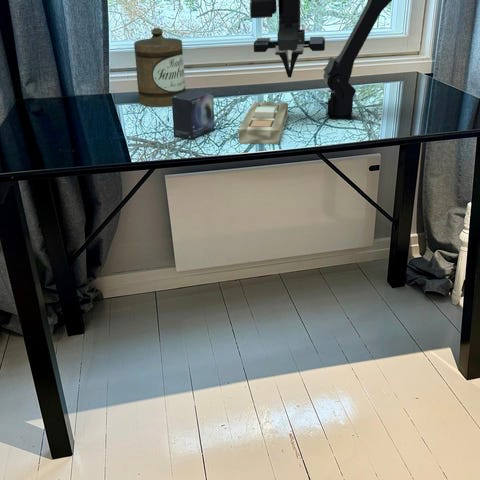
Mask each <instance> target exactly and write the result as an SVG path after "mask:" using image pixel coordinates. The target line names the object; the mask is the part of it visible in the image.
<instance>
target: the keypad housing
mask: <svg viewBox="0 0 480 480" xmlns="http://www.w3.org/2000/svg"><path fill="white" fill-rule="evenodd" d="M260 105H276V106H278V111H275V119H273V118H254V112H255V110H256V108H257V107H260ZM288 113H289V103H288V102H264V101H263V102H261V101H259V102H258V101H257V102H255V101H254V102H253V103H252V104H251V105H250V108H249V110H248V112H247V113H246V115H245V116H244V119H243V120H242V122H241V124H240V126H239V127H238V143H239V144H263V145H265V144H266V145H272V144H273V145H279V144H280V141H281V139H282V138H281V137H282V134H283V132H284V128H285V126H286V121H287V118H288V115H289V114H288ZM253 120H260V121H272V127H252V126H251V124H252V122H253Z"/></svg>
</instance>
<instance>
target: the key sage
mask: <svg viewBox="0 0 480 480" xmlns="http://www.w3.org/2000/svg"><path fill="white" fill-rule="evenodd" d="M260 107H275V111H278V106H276V105H260Z"/></svg>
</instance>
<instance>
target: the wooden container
mask: <svg viewBox="0 0 480 480" xmlns="http://www.w3.org/2000/svg"><path fill="white" fill-rule="evenodd" d="M150 34H151V35H152V36H151V38H143V39H140V40H139V39H138V40H136V41H134V43H133V45H134V46H133V47H134V54H135V55H134V57H135V67H136V83H137V90H138V101H139V102H138V103H139V104H140V105H143V106H146V107H152V108H153V107H155V108H163V107H172V98H171V97H172V96H175V95H178V94H181V93H184V92H187V90H186V77H185V75H186V74H185V65H184V64H185V63H184V54H183V53H184V51H183V41H182V39H179V38H174V37H173V38H171V37H165V36H164V35H163V29H161V28H160V27H154V28H153V29H152V30H151V33H150Z"/></svg>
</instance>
